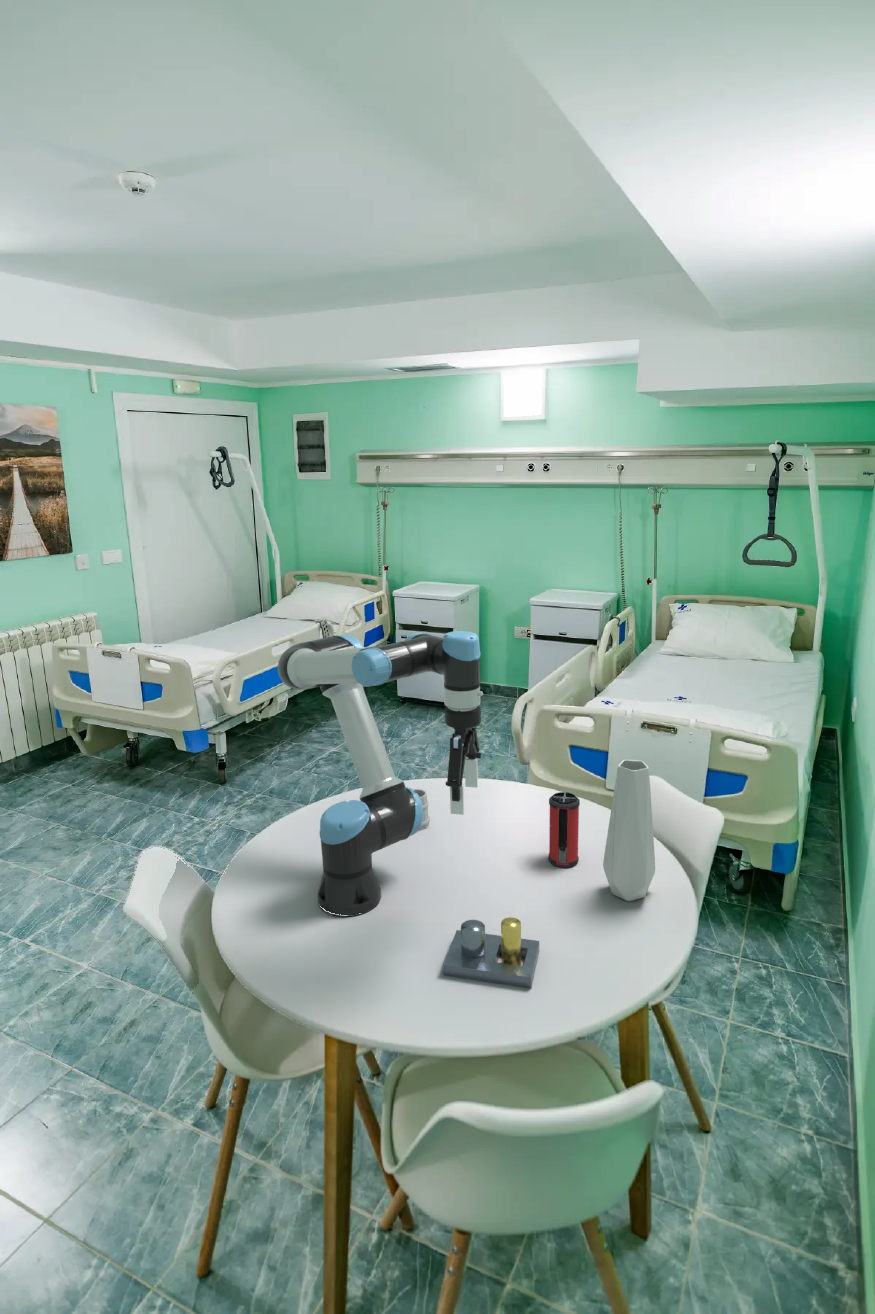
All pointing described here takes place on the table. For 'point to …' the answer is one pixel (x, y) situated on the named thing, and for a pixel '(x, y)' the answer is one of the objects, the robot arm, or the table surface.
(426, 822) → the mug
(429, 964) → the table surface
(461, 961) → the gray peg plate
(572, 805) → the speaker
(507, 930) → the round pin
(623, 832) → the vase
